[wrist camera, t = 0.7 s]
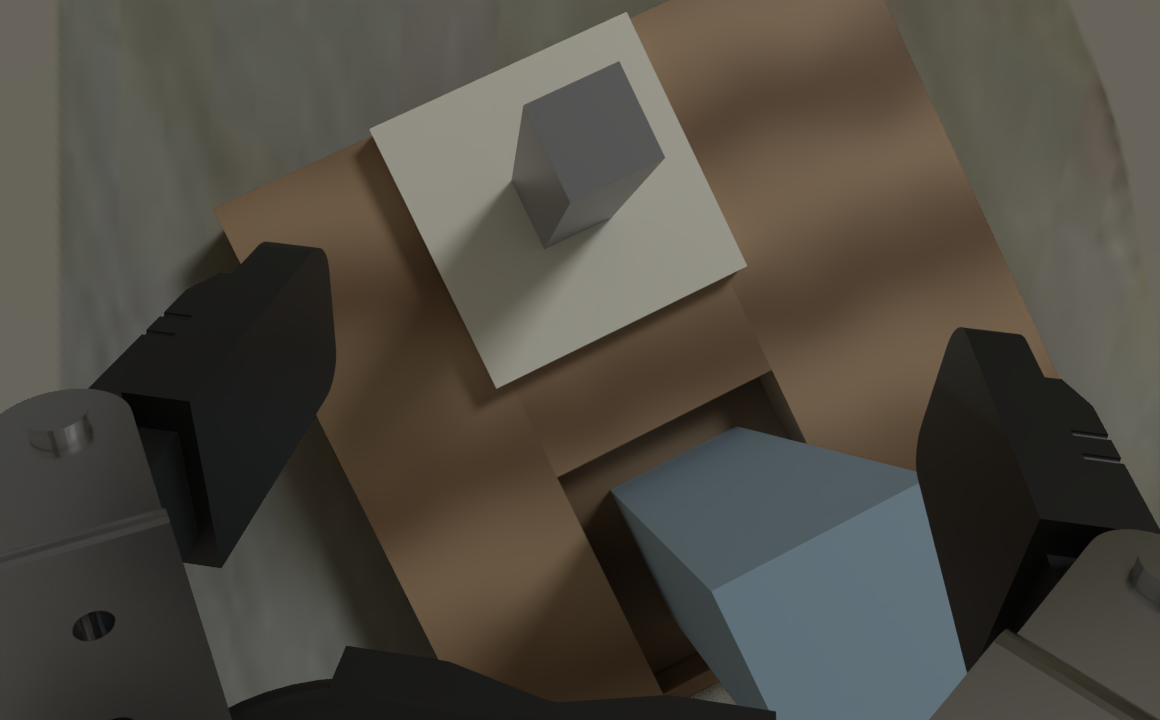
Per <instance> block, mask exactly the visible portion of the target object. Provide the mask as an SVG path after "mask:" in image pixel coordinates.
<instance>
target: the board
mask: <svg viewBox="0 0 1160 720" xmlns="http://www.w3.org/2000/svg"><path fill="white" fill-rule="evenodd" d="M630 20H631V22H632V24H633V26H634V28H635V31H636V33H637V35H638V37H639V39H640V41H641V43H642V45H643V47H644V50H645V52H646V54H647V56H648V58H649V60H650V62H651V64H652V66H653V68H654V71H655V73H656V75H657V77H658V79H659V81H660V83H661V85H662V87H663V90H664V92H665V94H666V96H667V98H668V100H669V102H670V104H671V106H672V108H673V111H674V113H675V115H676V117H677V119H678V121H679V123H680V125H681V127H682V130H683V132H684V134H685V136H686V138H687V140H688V142H689V144H690V146H691V148H692V151H693V153H694V155H695V157H696V159H697V161H698V163H699V165H700V167H701V170H702V172H703V174H704V176H705V178H706V180H707V182H708V184H709V186H710V188H711V191H712V193H713V195H714V197H715V199H716V201H717V203H718V205H719V207H720V209H721V212H722V214H723V216H724V218H725V220H726V222H727V224H728V226H729V228H730V231H731V233H732V235H733V237H734V239H735V241H736V243H737V245H738V247H739V249H740V252H741V254H742V256H743V258H744V260H745V262H746V264H747V267H745V268H742V269H740V270H738V271H736V272H734V273H732V274H730V275H728V276H726V277H724V278H722V279H720V280H718V281H716V282H714V283H712V284H710V285H708V286H706V287H704V288H702V289H700V290H697V291H695V292H693V293H691V294H689V295H687V296H685V297H683V298H681V299H679V300H677V301H675V302H673V303H671V304H669V305H667V306H665V307H663V308H661V309H659V310H657V311H655V312H652V313H650V314H648V315H646V316H644V317H642V318H640V319H638V320H636V321H634V322H632V323H630V324H628V325H626V326H624V327H622V328H620V329H618V330H616V331H614V332H612V333H610V334H607V335H605V336H603V337H601V338H599V339H597V340H595V341H593V342H591V343H589V344H587V345H585V346H583V347H581V348H579V349H577V350H575V351H573V352H571V353H569V354H567V355H565V356H562V357H560V358H558V359H556V360H554V361H552V362H550V363H548V364H546V365H544V366H542V367H540V368H538V369H536V370H534V371H532V372H530V373H528V374H526V375H524V376H522V377H520V378H517V379H515V380H513V381H511V382H509V383H507V384H505V385H503V386H501V387H499V388H497V389H496V387H495V385H494V383H493V381H492V379H491V377H490V375H489V372H488V370H487V368H486V366H485V364H484V362H483V360H482V358H481V356H480V354H479V352H478V350H477V348H476V346H475V344H474V342H473V340H472V338H471V336H470V334H469V332H468V330H467V328H466V326H465V324H464V321H463V319H462V317H461V315H460V313H459V311H458V309H457V307H456V305H455V303H454V301H453V299H452V297H451V295H450V293H449V291H448V289H447V287H446V285H445V283H444V281H443V279H442V277H441V275H440V273H439V270H438V268H437V266H436V264H435V262H434V260H433V258H432V256H431V254H430V252H429V250H428V248H427V246H426V244H425V242H424V240H423V238H422V236H421V234H420V232H419V230H418V228H417V226H416V224H415V222H414V219H413V217H412V215H411V213H410V211H409V209H408V207H407V205H406V203H405V201H404V199H403V197H402V195H401V193H400V191H399V189H398V187H397V185H396V183H395V181H394V179H393V177H392V175H391V173H390V171H389V168H388V166H387V164H386V162H385V160H384V158H383V156H382V154H381V152H380V150H379V148H378V146H377V144H376V142H375V140H374V138H373V136H371V137H369V138H367V139H365V140H362V141H360V142H358V143H356V144H354V145H351V146H349V147H347V148H345V149H343V150H340V151H338V152H336V153H334V154H332V155H330V156H327V157H325V158H323V159H321V160H319V161H316V162H314V163H312V164H310V165H308V166H305V167H303V168H301V169H299V170H297V171H294V172H292V173H290V174H288V175H286V176H284V177H281V178H279V179H277V180H275V181H273V182H270V183H268V184H266V185H264V186H262V187H259V188H257V189H255V190H253V191H251V192H248V193H246V194H244V195H242V196H240V197H238V198H235V199H233V200H231V201H229V202H227V203H224V204H222V205H220V206H218V207H216V208H213V210H214V212H215V214H216V216H217V218H218V220H219V222H220V224H221V226H222V228H223V230H224V232H225V234H226V236H227V238H228V240H229V242H230V244H231V246H232V248H233V250H234V252H235V254H236V256H237V258H238V260H239V262H240V264H241V263H242V262H243V261H244V260H245V259H246V258H247V257H248V256H249V255H250V254H251V253H252V252H253V251H254V250H255V249H256V247H257V246H258V245H259V244H261V243H262V242H275V243H283V244H292V245H300V246H308V247H316V248H321V249H323V250H324V252H325V254H326V256H327V259H328V263H329V272H330V283H331V295H332V307H333V318H334V330H335V342H336V367H335V373H334V378H333V382H332V386H331V389H330V391H329V394H328V396H327V397H326V399H325V401H324V402H323V404H322V406H321V407H320V409H319V411H318V412H317V414H316V416H317V418H318V420H319V422H320V424H321V426H322V428H323V430H324V432H325V434H326V436H327V438H328V440H329V442H330V444H331V446H332V448H333V450H334V452H335V454H336V456H337V458H338V460H339V462H340V464H341V466H342V468H343V470H344V472H345V474H346V476H347V478H348V480H349V482H350V484H351V486H352V488H353V490H354V492H355V494H356V496H357V498H358V500H359V502H360V504H361V506H362V508H363V510H364V512H365V514H366V516H367V518H368V520H369V522H370V524H371V526H372V528H373V530H374V532H375V534H376V536H377V538H378V540H379V542H380V544H381V546H382V548H383V550H384V552H385V554H386V556H387V558H388V560H389V562H390V564H391V566H392V568H393V570H394V572H395V574H396V576H397V578H398V580H399V582H400V584H401V586H402V588H403V590H404V592H405V594H406V596H407V598H408V600H409V602H410V604H411V606H412V608H413V610H414V612H415V614H416V616H417V618H418V620H419V622H420V624H421V626H422V628H423V630H424V632H425V634H426V636H427V638H428V640H429V642H430V644H431V646H432V648H433V650H434V652H435V654H436V656H437V658H438V660H443V661H449V662H452V663H454V664H457V665H459V666H462V667H464V668H467V669H469V670H472V671H474V672H477V673H479V674H482V675H485V676H487V677H490V678H492V679H495V680H497V681H500V682H502V683H505V684H507V685H510V686H512V687H515V688H517V689H520V690H522V691H525V692H527V693H530V694H532V695H535V696H537V697H540V698H543V699H546V700H549V701H555V702H570V701H584V700H599V699H614V698H628V697H643V696H657V695H672V696H679V697H686V698H689V697H691V696H693V695H694V694H696V693H698V692H700V691H702V690H704V689H706V688H708V687H709V686H711V685H713V684H715V683H717V682H719V680H718V678H717V677H716V676H715V674H714V673H713V671H712V670H711V669H710V667H709V666H708V665H707V663H706V662H705V661H704V659H703V658H702V657H701V655H700V654H699V653H698V651H697V650H696V649H695V647H694V646H693V645H692V643H691V642H690V641H689V639H688V638H687V637H686V635H685V634H684V632H683V631H682V630H681V628H680V627H679V626H678V624H677V623H676V622H675V620H674V619H673V618H672V616H671V614H670V612H669V610H668V608H667V606H666V604H665V602H664V600H663V598H662V596H661V593H660V591H659V589H658V587H657V585H656V583H655V581H654V579H653V577H652V575H651V573H650V571H649V569H648V567H647V565H646V563H645V561H644V559H643V556H642V554H641V552H640V550H639V548H638V546H637V544H636V542H635V540H634V538H633V536H632V534H631V532H630V530H629V528H628V526H627V524H626V522H625V520H624V517H623V515H622V513H621V511H620V509H619V507H618V505H617V503H616V501H615V499H614V497H613V495H612V493H611V491H610V490H611V489H613V488H615V487H616V486H618V485H620V484H622V483H624V482H626V481H628V480H630V479H632V478H634V477H636V476H638V475H640V474H642V473H644V472H646V471H648V470H650V469H652V468H654V467H656V466H658V465H660V464H662V463H664V462H666V461H668V460H670V459H672V458H674V457H676V456H678V455H680V454H682V453H684V452H686V451H688V450H690V449H692V448H694V447H696V446H698V445H700V444H702V443H704V442H706V441H707V440H709V439H711V438H713V437H715V436H717V435H719V434H721V433H723V432H725V431H727V430H729V429H731V428H733V427H735V426H738V427H742V428H746V429H749V430H753V431H757V432H761V433H765V434H769V435H773V436H777V437H781V438H785V439H789V440H793V441H797V442H801V443H805V444H809V445H813V446H817V447H821V448H825V449H829V450H833V451H837V452H840V453H844V454H848V455H852V456H856V457H860V458H864V459H868V460H872V461H876V462H880V463H884V464H888V465H892V466H896V467H900V468H904V469H908V470H912V471H916V450H917V442H918V436H919V431H920V428H921V424H922V421H923V418H924V415H925V412H926V409H927V406H928V403H929V400H930V396H931V393H932V390H933V387H934V384H935V381H936V378H937V375H938V372H939V369H940V366H941V363H942V359H943V356H944V353H945V350H946V347H947V344H948V342H949V339H950V337H951V335H952V334H953V332H954V331H955V330H956V329H957V328H959V327H964V328H972V329H981V330H989V331H997V332H1005V333H1014V334H1020V335H1022V336H1024V337H1025V339H1026V341H1027V343H1028V345H1029V347H1030V349H1031V351H1032V353H1033V355H1034V357H1035V359H1036V361H1037V363H1038V365H1039V367H1040V369H1041V371H1042V373H1043V375H1044V377H1048V378H1056V379H1060V378H1059V376H1058V374H1057V372H1056V370H1055V368H1054V366H1053V363H1052V361H1051V359H1050V357H1049V355H1048V353H1047V350H1046V348H1045V346H1044V344H1043V342H1042V340H1041V337H1040V335H1039V333H1038V331H1037V329H1036V327H1035V324H1034V322H1033V320H1032V318H1031V316H1030V314H1029V311H1028V309H1027V307H1026V305H1025V303H1024V301H1023V298H1022V296H1021V294H1020V292H1019V290H1018V288H1017V286H1016V283H1015V281H1014V279H1013V277H1012V275H1011V273H1010V270H1009V268H1008V266H1007V264H1006V262H1005V260H1004V257H1003V255H1002V253H1001V251H1000V249H999V247H998V244H997V242H996V240H995V238H994V236H993V234H992V231H991V229H990V227H989V225H988V223H987V221H986V218H985V216H984V214H983V212H982V210H981V208H980V206H979V203H978V201H977V199H976V197H975V195H974V193H973V190H972V188H971V186H970V184H969V182H968V180H967V177H966V175H965V173H964V171H963V169H962V167H961V164H960V162H959V160H958V158H957V156H956V154H955V151H954V149H953V147H952V145H951V143H950V141H949V138H948V136H947V134H946V132H945V130H944V128H943V126H942V123H941V121H940V119H939V117H938V115H937V113H936V110H935V108H934V106H933V104H932V102H931V100H930V97H929V95H928V93H927V91H926V89H925V87H924V84H923V82H922V80H921V78H920V76H919V74H918V71H917V69H916V67H915V65H914V63H913V61H912V58H911V56H910V54H909V52H908V50H907V48H906V46H905V43H904V41H903V39H902V37H901V35H900V33H899V30H898V28H897V26H896V24H895V22H894V20H893V17H892V15H891V13H890V11H889V9H888V7H887V4H886V2H885V0H669V1H667V2H665V3H662V4H660V5H658V6H656V7H654V8H652V9H649V10H647V11H645V12H643V13H641V14H638V15H636V16H634V17H632V18H630ZM916 472H917V471H916Z"/></svg>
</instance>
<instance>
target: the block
mask: <svg viewBox="0 0 1160 720" xmlns="http://www.w3.org/2000/svg"><path fill="white" fill-rule="evenodd" d="M610 491H611V493H612V495H613V497H614V499H615V501H616V503H617V505H618V507H619V509H620V511H621V513H622V515H623V517H624V520H625V522H626V524H627V526H628V528H629V530H630V532H631V534H632V536H633V538H634V540H635V542H636V544H637V546H638V548H639V550H640V552H641V554H642V556H643V559H644V561H645V563H646V565H647V567H648V569H649V571H650V573H651V575H652V577H653V579H654V581H655V583H656V585H657V587H658V589H659V591H660V593H661V596H662V598H663V600H664V602H665V604H666V606H667V608H668V610H669V612H670V614H671V616H672V618H673V619H674V620H675V622H676V623H677V624H678V626H679V627H680V628H681V630H682V631H683V632H684V634H685V635H686V637H687V638H688V639H689V641H690V642H691V643H692V645H693V646H694V647H695V649H696V650H697V651H698V653H699V654H700V655H701V657H702V658H703V659H704V661H705V662H706V663H707V665H708V666H709V667H710V669H711V670H712V671H713V673H714V674H715V676H716V677H717V678H718V680H719V681H720V682H721V684H722V685H723V686H724V688H725V689H726V690H727V692H728V693H729V694H730V696H731V697H732V698H733V700H734V701H735V702H736V704H737V705H738V706H745V707H751V708H758V709H764V710H771V711H776V720H929V719H930V718H931V717H932V715H933V714H934V713H935V712H936V711H937V709H938V708H939V707H940V706H941V705H942V703H943V702H944V701H945V700H946V699H947V697H948V696H949V695H950V694H951V692H952V691H953V690H954V689H955V688H956V686H957V685H958V684H959V683H960V682H961V680H962V679H963V678H964V677H965V675H966V674H967V671H966V667H965V664H964V660H963V656H962V652H961V648H960V644H959V640H958V636H957V632H956V628H955V624H954V620H953V616H952V612H951V608H950V604H949V600H948V596H947V592H946V588H945V584H944V581H943V577H942V573H941V569H940V565H939V561H938V557H937V553H936V549H935V545H934V541H933V537H932V533H931V529H930V525H929V521H928V517H927V513H926V509H925V505H924V502H923V498H922V494H921V490H920V486H919V482H918V478H917V472H916V471H912V470H908V469H904V468H900V467H896V466H892V465H888V464H884V463H880V462H876V461H872V460H868V459H864V458H860V457H856V456H852V455H848V454H844V453H840V452H837V451H833V450H829V449H825V448H821V447H817V446H813V445H809V444H805V443H801V442H797V441H793V440H789V439H785V438H781V437H777V436H773V435H769V434H765V433H761V432H757V431H753V430H749V429H746V428H742V427H738V426H735V427H733V428H731V429H729V430H727V431H725V432H723V433H721V434H719V435H717V436H715V437H713V438H711V439H709V440H707V441H706V442H704V443H702V444H700V445H698V446H696V447H694V448H692V449H690V450H688V451H686V452H684V453H682V454H680V455H678V456H676V457H674V458H672V459H670V460H668V461H666V462H664V463H662V464H660V465H658V466H656V467H654V468H652V469H650V470H648V471H646V472H644V473H642V474H640V475H638V476H636V477H634V478H632V479H630V480H628V481H626V482H624V483H622V484H620V485H618V486H616V487H615V488H613V489H611V490H610Z"/></svg>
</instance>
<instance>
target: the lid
mask: <svg viewBox="0 0 1160 720" xmlns="http://www.w3.org/2000/svg"><path fill="white" fill-rule="evenodd" d="M369 130H370V132H371V134H372V136H373V138H374V140H375V142H376V144H377V146H378V148H379V150H380V152H381V154H382V156H383V158H384V160H385V162H386V164H387V166H388V168H389V171H390V173H391V175H392V177H393V179H394V181H395V183H396V185H397V187H398V189H399V191H400V193H401V195H402V197H403V199H404V201H405V203H406V205H407V207H408V209H409V211H410V213H411V215H412V217H413V219H414V222H415V224H416V226H417V228H418V230H419V232H420V234H421V236H422V238H423V240H424V242H425V244H426V246H427V248H428V250H429V252H430V254H431V256H432V258H433V260H434V262H435V264H436V266H437V268H438V270H439V273H440V275H441V277H442V279H443V281H444V283H445V285H446V287H447V289H448V291H449V293H450V295H451V297H452V299H453V301H454V303H455V305H456V307H457V309H458V311H459V313H460V315H461V317H462V319H463V321H464V324H465V326H466V328H467V330H468V332H469V334H470V336H471V338H472V340H473V342H474V344H475V346H476V348H477V350H478V352H479V354H480V356H481V358H482V360H483V362H484V364H485V366H486V368H487V370H488V372H489V375H490V377H491V379H492V381H493V383H494V385H495V387H496V389H497V388H499V387H501V386H503V385H505V384H507V383H509V382H511V381H513V380H515V379H517V378H520V377H522V376H524V375H526V374H528V373H530V372H532V371H534V370H536V369H538V368H540V367H542V366H544V365H546V364H548V363H550V362H552V361H554V360H556V359H558V358H560V357H562V356H565V355H567V354H569V353H571V352H573V351H575V350H577V349H579V348H581V347H583V346H585V345H587V344H589V343H591V342H593V341H595V340H597V339H599V338H601V337H603V336H605V335H607V334H610V333H612V332H614V331H616V330H618V329H620V328H622V327H624V326H626V325H628V324H630V323H632V322H634V321H636V320H638V319H640V318H642V317H644V316H646V315H648V314H650V313H652V312H655V311H657V310H659V309H661V308H663V307H665V306H667V305H669V304H671V303H673V302H675V301H677V300H679V299H681V298H683V297H685V296H687V295H689V294H691V293H693V292H695V291H697V290H700V289H702V288H704V287H706V286H708V285H710V284H712V283H714V282H716V281H718V280H720V279H722V278H724V277H726V276H728V275H730V274H732V273H734V272H736V271H738V270H740V269H742V268H745V267H747V264H746V262H745V260H744V258H743V256H742V254H741V252H740V249H739V247H738V245H737V243H736V241H735V239H734V237H733V235H732V233H731V231H730V228H729V226H728V224H727V222H726V220H725V218H724V216H723V214H722V212H721V209H720V207H719V205H718V203H717V201H716V199H715V197H714V195H713V193H712V191H711V188H710V186H709V184H708V182H707V180H706V178H705V176H704V174H703V172H702V170H701V167H700V165H699V163H698V161H697V159H696V157H695V155H694V153H693V151H692V148H691V146H690V144H689V142H688V140H687V138H686V136H685V134H684V132H683V130H682V127H681V125H680V123H679V121H678V119H677V117H676V115H675V113H674V111H673V108H672V106H671V104H670V102H669V100H668V98H667V96H666V94H665V92H664V90H663V87H662V85H661V83H660V81H659V79H658V77H657V75H656V73H655V71H654V68H653V66H652V64H651V62H650V60H649V58H648V56H647V54H646V52H645V50H644V47H643V45H642V43H641V41H640V39H639V37H638V35H637V33H636V31H635V28H634V26H633V24H632V22H631V20H630V18H629V16H628V14H627V12H625V13H623V14H621V15H619V16H616V17H614V18H612V19H610V20H608V21H605V22H603V23H601V24H599V25H597V26H594V27H592V28H590V29H588V30H586V31H584V32H581V33H579V34H577V35H575V36H573V37H570V38H568V39H566V40H564V41H562V42H559V43H557V44H555V45H553V46H551V47H548V48H546V49H544V50H542V51H540V52H537V53H535V54H533V55H531V56H529V57H526V58H524V59H522V60H520V61H518V62H515V63H513V64H511V65H509V66H507V67H505V68H502V69H500V70H498V71H496V72H494V73H491V74H489V75H487V76H485V77H483V78H480V79H478V80H476V81H474V82H472V83H469V84H467V85H465V86H463V87H461V88H458V89H456V90H454V91H452V92H450V93H447V94H445V95H443V96H441V97H439V98H436V99H434V100H432V101H430V102H428V103H426V104H423V105H421V106H419V107H417V108H415V109H412V110H410V111H408V112H406V113H404V114H401V115H399V116H397V117H395V118H393V119H390V120H388V121H386V122H384V123H382V124H379V125H377V126H375V127H373V128H371V129H369Z"/></svg>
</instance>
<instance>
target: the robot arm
mask: <svg viewBox="0 0 1160 720" xmlns="http://www.w3.org/2000/svg"><path fill="white" fill-rule="evenodd" d="M335 367H336V342H335V330H334V318H333V307H332V295H331V283H330V272H329V263H328V259H327V256H326V254H325V252H324V250H323V249H321V248H316V247H308V246H300V245H292V244H283V243H275V242H262V243H261V244H259V245H258V246H257V247H256V249H255V250H254V251H253V252H252V253H251V254H250V255H249V256H248V257H247V258H246V259H245V260H244V261H243V262H242V263H241V265H240V266H239V267H238V268H237V269H236V270H235V271H234V272H233V273H232V274H223V273H219V274H217V275H215V276H213V277H211V278H209V279H207V280H205V281H203V282H201V283H199V284H197V285H195V286H193V287H191V288H189V289H187V290H186V291H185V292H184V293H183V294H182V295H181V296H180V297H179V298H178V299H177V300H176V301H175V302H174V303H173V304H172V305H171V306H170V307H169V308H168V309H167V310H166V311H165V312H164V317H161V316H160V317H159V318H158V319H157V320H156V321H155V322H154V323H153V324H152V325H151V326H150V327H149V328H148V329H147V333H146V335H141V336H140V337H139V338H138V339H137V340H136V341H135V342H134V343H133V344H132V345H131V346H130V347H129V348H128V349H127V350H126V351H125V352H124V353H123V354H122V355H121V356H120V357H119V358H118V359H117V360H116V361H115V362H114V363H113V364H112V365H111V366H110V367H109V368H108V369H107V370H106V371H105V372H104V373H103V374H102V375H101V376H100V377H99V378H98V379H97V380H96V381H95V382H94V383H93V384H92V385H91V386H90V387H89V388H88V389H67V390H60V391H54V392H49V393H46V394H42V395H38V396H35V397H32V398H30V399H27V400H25V401H22V402H20V403H18V404H16V405H14V406H12V407H11V408H9V409H7V410H6V411H4V412H3V413H1V414H0V720H776V711H771V710H764V709H758V708H751V707H745V706H738V705H732V704H725V703H718V702H712V701H705V700H699V699H692V698H686V697H679V696H672V695H657V696H643V697H628V698H614V699H599V700H584V701H570V702H555V701H549V700H546V699H543V698H540V697H537V696H535V695H532V694H530V693H527V692H525V691H522V690H520V689H517V688H515V687H512V686H510V685H507V684H505V683H502V682H500V681H497V680H495V679H492V678H490V677H487V676H485V675H482V674H479V673H477V672H474V671H472V670H469V669H467V668H464V667H462V666H459V665H457V664H454V663H452V662H449V661H443V660H436V659H429V658H423V657H416V656H410V655H403V654H397V653H390V652H384V651H377V650H370V649H364V648H357V647H351V646H346V648H345V650H344V652H343V655H342V657H341V659H340V662H339V664H338V666H337V669H336V671H335V674H334V676H333V678H332V679H324V680H316V681H310V682H305V683H299V684H293V685H290V686H286V687H282V688H279V689H275V690H272V691H268V692H265V693H263V694H260V695H257V696H255V697H252V698H250V699H247V700H244V701H242V702H240V703H238V704H236V705H234V706H232V707H230V708H228V706H227V702H226V699H225V696H224V693H223V690H222V686H221V683H220V680H219V677H218V674H217V670H216V667H215V664H214V661H213V658H212V654H211V651H210V648H209V645H208V641H207V638H206V635H205V632H204V629H203V625H202V622H201V619H200V616H199V613H198V609H197V606H196V603H195V600H194V597H193V593H192V590H191V587H190V584H189V581H188V577H187V574H186V571H185V568H184V565H183V563H190V564H197V565H204V566H211V567H217V568H222V566H223V565H224V563H225V562H226V560H227V558H228V557H229V555H230V553H231V552H232V550H233V549H234V547H235V545H236V544H237V542H238V540H239V539H240V537H241V536H242V534H243V532H244V531H245V529H246V527H247V526H248V524H249V523H250V521H251V519H252V518H253V516H254V514H255V513H256V511H257V510H258V508H259V506H260V505H261V503H262V501H263V500H264V498H265V497H266V495H267V493H268V492H269V490H270V488H271V487H272V485H273V484H274V482H275V480H276V479H277V477H278V475H279V474H280V472H281V471H282V469H283V467H284V466H285V464H286V462H287V461H288V459H289V458H290V456H291V454H292V453H293V451H294V449H295V448H296V446H297V445H298V443H299V441H300V440H301V438H302V436H303V435H304V433H305V432H306V430H307V428H308V427H309V425H310V424H311V422H312V420H313V419H314V417H315V415H316V414H317V412H318V411H319V409H320V407H321V406H322V404H323V402H324V401H325V399H326V397H327V396H328V394H329V391H330V389H331V386H332V382H333V378H334V373H335ZM1107 437H1108V433H1107V432H1106V430H1105V428H1104V426H1103V424H1102V422H1101V421H1100V419H1099V417H1098V415H1097V413H1096V411H1095V409H1094V408H1093V406H1092V405H1091V404H1090V403H1089V402H1087V401H1086V400H1085V399H1084V398H1083V397H1082V396H1080V395H1079V394H1078V393H1077V392H1076V391H1075V390H1073V389H1072V388H1071V387H1070V386H1069V385H1068V384H1067V383H1065V382H1064V381H1063V380H1062V379H1056V378H1048V377H1044V375H1043V373H1042V371H1041V369H1040V367H1039V365H1038V363H1037V361H1036V359H1035V357H1034V355H1033V353H1032V351H1031V349H1030V347H1029V345H1028V343H1027V341H1026V339H1025V337H1024V336H1022V335H1020V334H1014V333H1005V332H997V331H989V330H981V329H972V328H964V327H959V328H957V329H956V330H955V331H954V332H953V334H952V335H951V337H950V339H949V342H948V344H947V347H946V350H945V353H944V356H943V359H942V363H941V366H940V369H939V372H938V375H937V378H936V381H935V384H934V387H933V390H932V393H931V396H930V400H929V403H928V406H927V409H926V412H925V415H924V418H923V421H922V424H921V428H920V431H919V436H918V442H917V450H916V471H917V478H918V482H919V486H920V490H921V494H922V498H923V502H924V505H925V509H926V513H927V517H928V521H929V525H930V529H931V533H932V537H933V541H934V545H935V549H936V553H937V557H938V561H939V565H940V569H941V573H942V577H943V581H944V584H945V588H946V592H947V596H948V600H949V604H950V608H951V612H952V616H953V620H954V624H955V628H956V632H957V636H958V640H959V644H960V648H961V652H962V656H963V660H964V664H965V667H966V671H967V674H966V675H965V677H964V678H963V679H962V680H961V682H960V683H959V684H958V685H957V686H956V688H955V689H954V690H953V691H952V692H951V694H950V695H949V696H948V697H947V699H946V700H945V701H944V702H943V703H942V705H941V706H940V707H939V708H938V709H937V711H936V712H935V713H934V714H933V715H932V717H931V718H930V719H929V720H1160V529H1159V527H1158V525H1157V524H1156V522H1155V520H1154V518H1153V516H1152V514H1151V512H1150V511H1149V509H1148V507H1147V505H1146V503H1145V501H1144V500H1143V498H1142V496H1141V494H1140V492H1139V490H1138V489H1137V487H1136V485H1135V483H1134V481H1133V479H1132V478H1131V476H1130V474H1129V472H1128V470H1127V468H1126V467H1125V465H1124V464H1120V459H1121V457H1120V455H1119V454H1118V452H1117V450H1116V448H1115V446H1114V444H1113V443H1112V441H1111V440H1107Z"/></svg>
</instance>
